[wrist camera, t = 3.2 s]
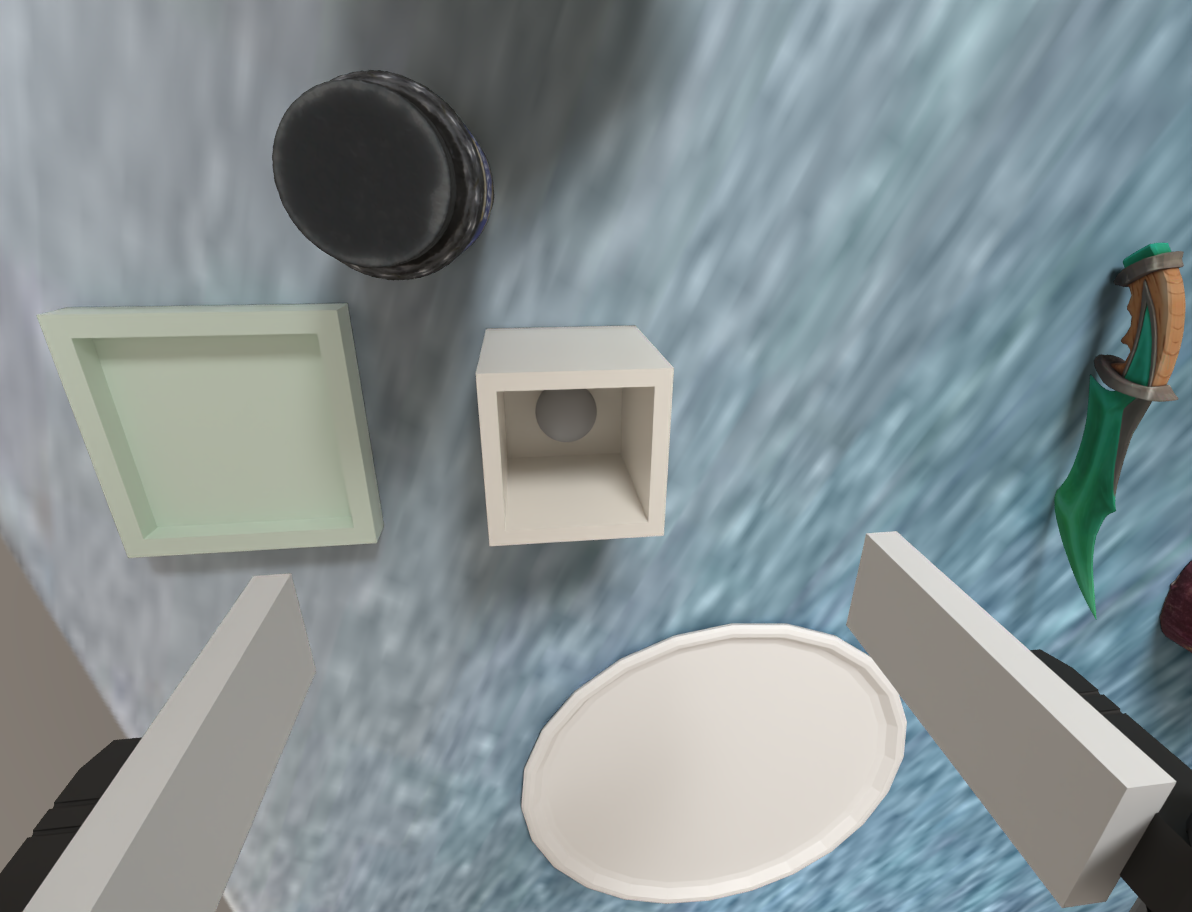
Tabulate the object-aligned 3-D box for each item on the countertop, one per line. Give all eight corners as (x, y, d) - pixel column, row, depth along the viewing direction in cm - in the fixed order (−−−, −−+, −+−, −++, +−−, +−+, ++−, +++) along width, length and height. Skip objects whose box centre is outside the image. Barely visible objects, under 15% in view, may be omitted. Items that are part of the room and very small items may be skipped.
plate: (587, 927, 51) (588, 944, 50) (458, 694, 38) (456, 710, 37) (909, 826, 50) (919, 840, 49) (884, 558, 38) (895, 569, 37)
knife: (1108, 242, 31) (1209, 250, 26) (1140, 238, 31) (1245, 246, 27) (1019, 574, 40) (1083, 623, 35) (1045, 570, 40) (1112, 619, 35)
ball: (533, 374, 29) (535, 392, 27) (593, 372, 30) (600, 390, 27) (535, 430, 30) (537, 453, 28) (592, 428, 31) (600, 450, 28)
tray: (66, 307, 26) (36, 315, 24) (347, 303, 27) (336, 310, 26) (148, 538, 31) (128, 557, 29) (383, 525, 32) (376, 543, 31)
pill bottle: (519, 214, 27) (521, 226, 17) (408, 284, 27) (346, 335, 17) (439, 75, 24) (385, -9, 14) (319, 155, 25) (186, 128, 15)
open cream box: (486, 328, 29) (475, 373, 21) (635, 325, 30) (673, 368, 22) (495, 465, 32) (489, 546, 24) (630, 459, 33) (663, 535, 25)
